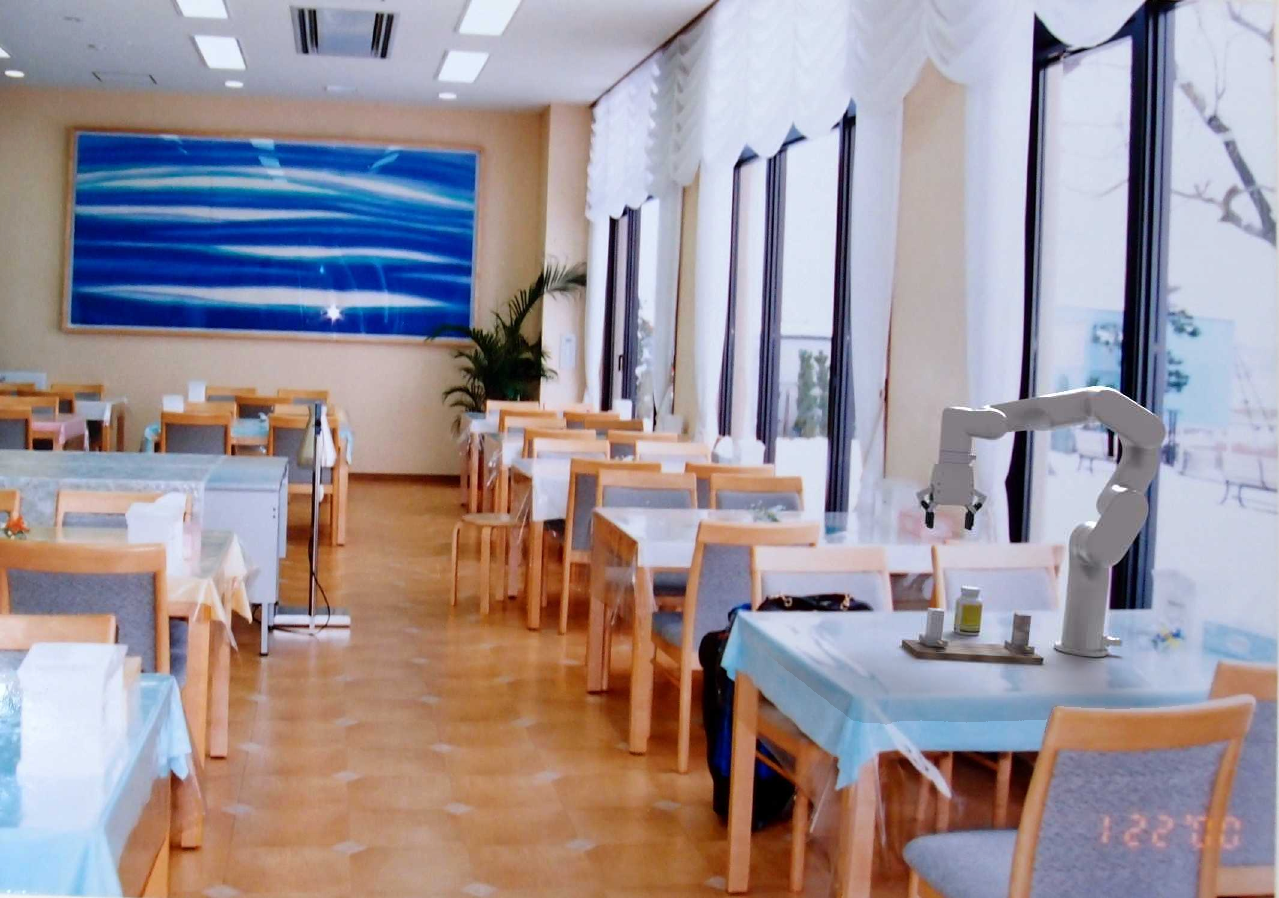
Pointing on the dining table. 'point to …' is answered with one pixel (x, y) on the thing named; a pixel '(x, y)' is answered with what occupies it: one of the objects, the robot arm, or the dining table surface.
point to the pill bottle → (968, 611)
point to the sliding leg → (934, 629)
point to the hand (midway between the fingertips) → (948, 528)
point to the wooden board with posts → (984, 647)
